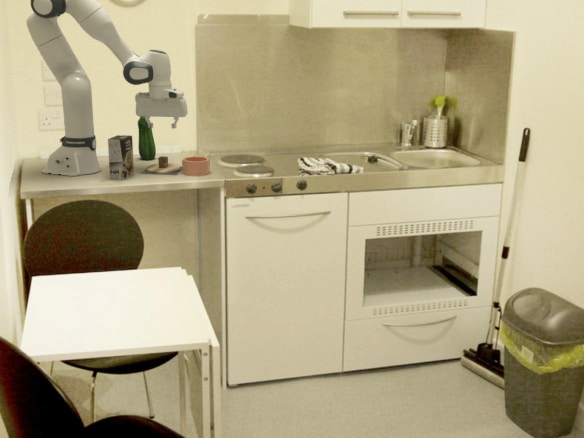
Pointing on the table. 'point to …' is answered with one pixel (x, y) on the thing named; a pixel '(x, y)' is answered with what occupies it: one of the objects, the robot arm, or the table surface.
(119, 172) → the coffee box
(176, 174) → the mat
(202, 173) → the bowl
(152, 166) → the lid
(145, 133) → the vegetable
